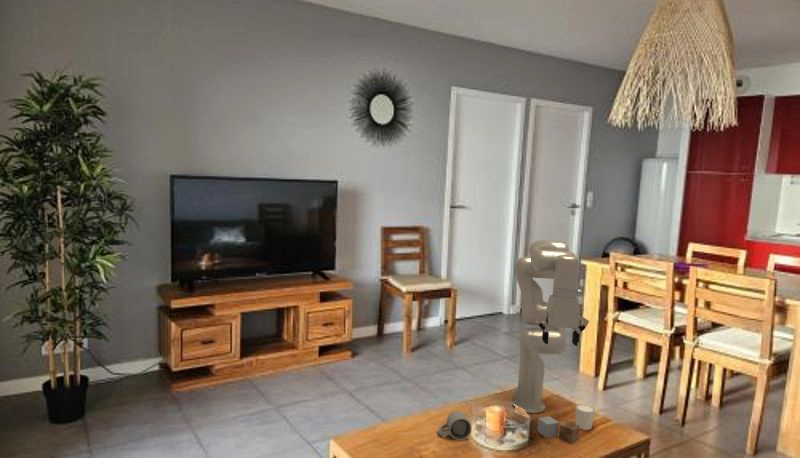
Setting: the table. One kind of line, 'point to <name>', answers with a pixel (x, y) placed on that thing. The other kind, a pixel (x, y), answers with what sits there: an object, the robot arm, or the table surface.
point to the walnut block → (569, 432)
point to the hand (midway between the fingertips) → (560, 343)
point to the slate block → (548, 427)
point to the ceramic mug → (456, 426)
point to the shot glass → (584, 416)
